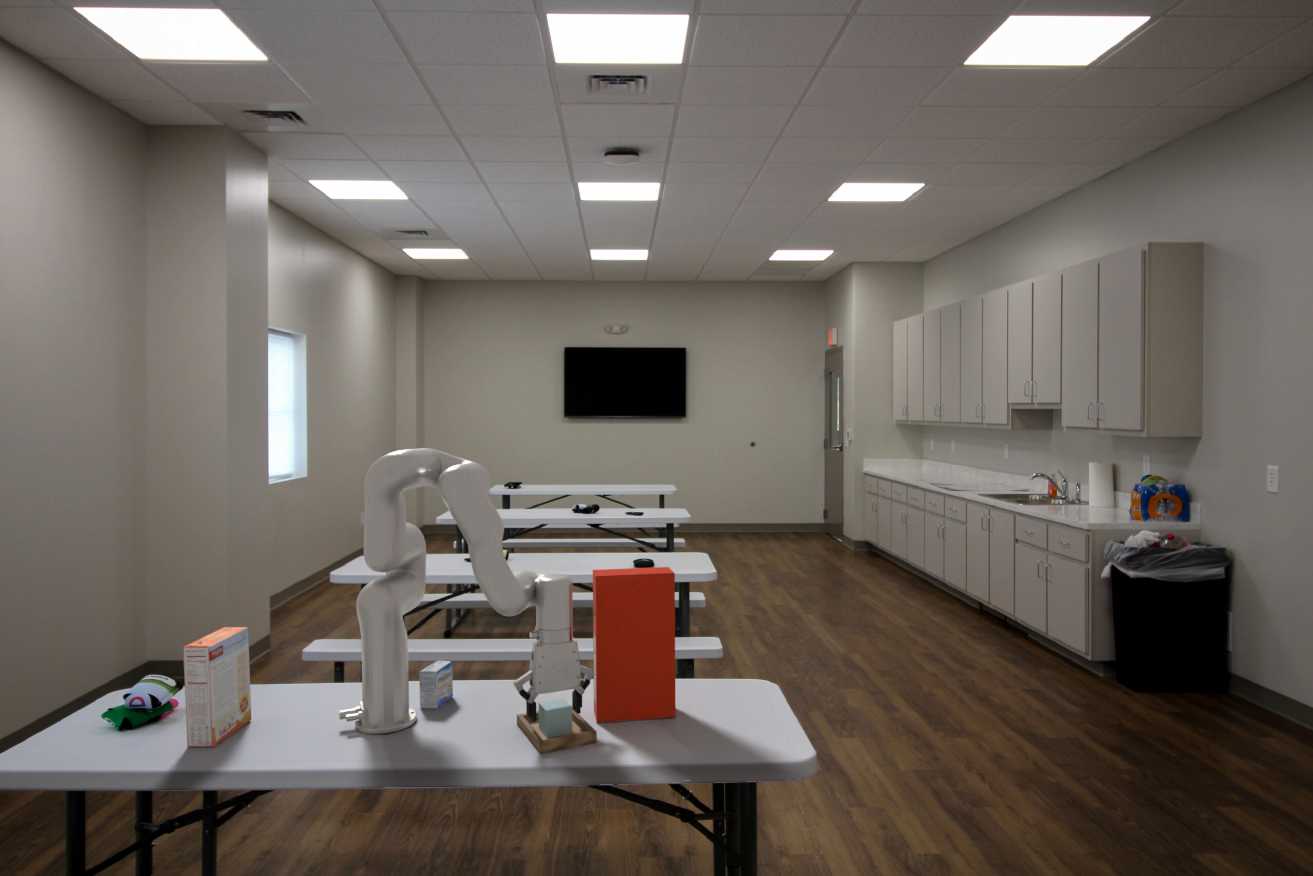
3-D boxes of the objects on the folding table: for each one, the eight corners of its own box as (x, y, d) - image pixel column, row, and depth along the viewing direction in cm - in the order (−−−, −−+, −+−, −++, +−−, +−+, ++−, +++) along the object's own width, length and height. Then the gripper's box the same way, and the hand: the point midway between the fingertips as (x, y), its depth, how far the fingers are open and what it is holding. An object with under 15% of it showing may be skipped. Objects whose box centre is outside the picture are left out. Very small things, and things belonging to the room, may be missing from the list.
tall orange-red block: (593, 709, 174) (592, 569, 173) (668, 704, 176) (668, 566, 175) (596, 724, 166) (595, 576, 165) (675, 718, 169) (674, 573, 167)
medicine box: (437, 710, 174) (436, 672, 174) (419, 708, 175) (418, 670, 175) (453, 697, 182) (452, 661, 181) (435, 696, 183) (435, 659, 182)
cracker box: (225, 720, 168) (223, 625, 168) (252, 720, 168) (250, 626, 168) (184, 748, 154) (181, 645, 154) (213, 748, 154) (210, 645, 154)
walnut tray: (539, 754, 151) (539, 743, 151) (516, 724, 165) (516, 714, 165) (596, 742, 156) (596, 731, 156) (569, 714, 171) (569, 705, 171)
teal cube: (546, 738, 157) (546, 711, 157) (538, 728, 162) (538, 702, 162) (572, 733, 160) (572, 706, 159) (563, 723, 164) (563, 698, 164)
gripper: (519, 645, 153) (519, 729, 153) (599, 634, 161) (599, 714, 161) (508, 635, 160) (509, 716, 160) (586, 625, 167) (586, 702, 168)
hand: (554, 715), depth 161 cm, fingers open, 9 cm apart
